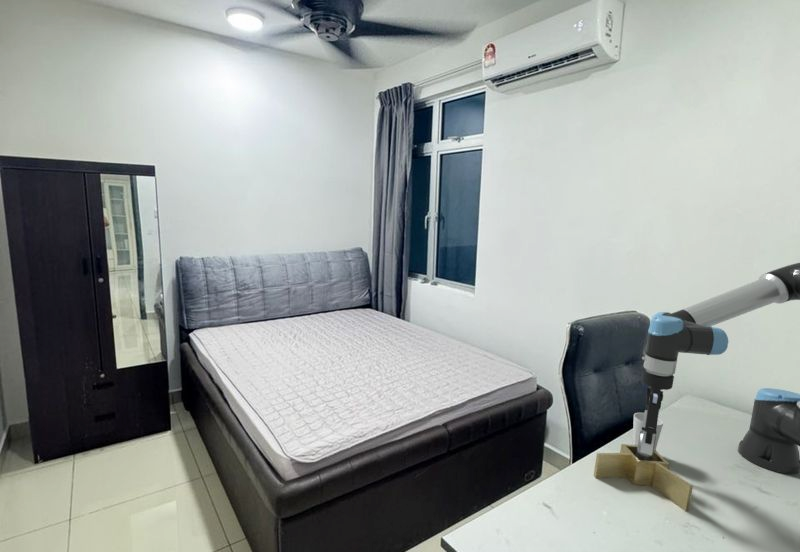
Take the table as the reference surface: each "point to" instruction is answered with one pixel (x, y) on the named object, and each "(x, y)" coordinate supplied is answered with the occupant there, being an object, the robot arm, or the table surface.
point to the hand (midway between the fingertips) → (646, 442)
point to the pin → (639, 454)
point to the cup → (638, 426)
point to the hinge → (644, 473)
